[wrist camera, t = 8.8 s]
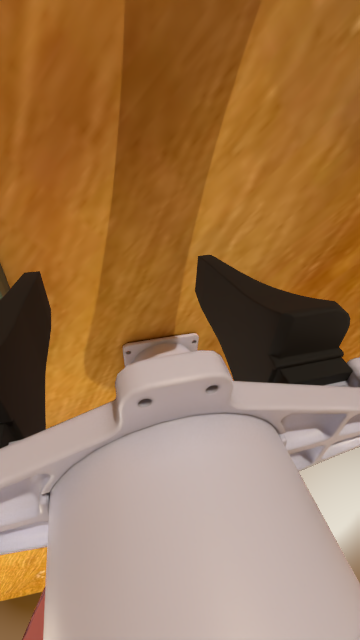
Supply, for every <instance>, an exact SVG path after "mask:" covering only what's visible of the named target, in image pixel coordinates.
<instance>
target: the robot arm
mask: <svg viewBox="0 0 360 640" xmlns="http://www.w3.org/2000/svg"><path fill="white" fill-rule="evenodd" d="M195 292H196V295H197V298H198V301H199V303H200V306H201V308H202V310H203V312H204V314H205V316H206V318H207V320H208V322H209V323H210V325H211V327H212V329H213V331H214V333H215V334H216V336H217V338H218V340H219V342H220V344H221V347H222V349H223V352H224V354H225V357H226V359H227V362H228V365H229V367H230V370H231V373H232V376H233V379H234V381H233V380H232V377H231V375H230V373H229V371H228V369H227V367H226V365H225V363H224V361H223V359H222V357H221V356H220V355H219V354H217V353H216V352H214V351H204V350H199V351H197V348H198V339H199V337H198V334H196V333H191V334H185V335H178V336H172V337H165V338H159V339H153V340H146V341H140V342H133V343H127V344H125V345H124V346H123V355H124V364H125V368H124V369H123V370H122V371H120V372H119V373H118V374H117V378H116V382H115V388H116V399H115V400H114V401H112V402H109V403H107V404H105V405H102V406H100V407H98V408H95V409H93V410H90V411H88V412H86V413H83V414H81V415H79V416H76V417H74V418H72V419H69V420H67V421H65V422H62V423H60V424H57V425H55V426H53V427H50V428H48V429H46V423H45V371H46V362H47V355H48V347H49V340H50V332H51V308H50V305H49V301H48V298H47V295H46V291H45V288H44V284H43V281H42V278H41V274H40V271H39V272H28V273H24V274H23V275H22V276H21V277H20V278H19V280H18V281H17V282H16V283H15V284H14V285H13V286H12V288H11V289H10V290H9V291H8V292H7V293H6V294H5V295H4V296H3V297H2V298H1V299H0V555H3V554H9V553H15V552H20V551H26V550H32V549H37V548H43V547H47V566H46V588H45V610H44V632H43V640H360V584H359V581H358V580H357V578H356V576H355V574H354V572H353V570H352V569H351V567H350V565H349V563H348V561H347V560H346V558H345V556H344V554H343V552H342V550H341V549H340V547H339V545H338V543H337V541H336V539H335V538H334V536H333V534H332V532H331V530H330V528H329V526H328V525H327V523H326V521H325V519H324V518H323V515H322V514H321V512H320V510H319V508H318V506H317V504H316V503H315V501H314V499H313V497H312V495H311V494H310V492H309V490H308V488H307V486H306V485H305V482H304V481H303V479H302V477H301V475H300V473H299V471H301V470H304V469H306V468H308V467H311V466H313V465H316V464H318V463H320V462H322V461H325V460H328V459H330V458H332V457H335V456H337V455H339V454H342V453H345V452H347V451H350V450H352V449H355V448H358V447H360V357H358V358H354V359H351V360H350V361H348V362H347V363H346V362H345V361H344V360H343V359H342V357H343V355H344V353H343V351H342V350H341V349H340V348H339V346H340V344H341V342H342V340H343V338H344V336H345V334H346V332H347V330H348V328H349V325H350V317H349V314H348V313H347V312H346V311H345V310H344V309H343V308H342V307H341V306H340V305H339V304H337V303H336V302H335V301H328V300H321V299H315V298H310V297H305V296H300V295H296V294H292V293H289V292H286V291H282V290H279V289H276V288H273V287H271V286H268V285H266V284H263V283H261V282H259V281H257V280H254V279H252V278H251V277H249V276H247V275H245V274H243V273H241V272H239V271H237V270H236V269H234V268H232V267H231V266H229V265H227V264H226V263H224V262H222V261H221V260H219V259H217V258H216V257H214V256H212V255H203V256H198V264H197V276H196V287H195ZM127 351H129V352H127Z"/></svg>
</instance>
